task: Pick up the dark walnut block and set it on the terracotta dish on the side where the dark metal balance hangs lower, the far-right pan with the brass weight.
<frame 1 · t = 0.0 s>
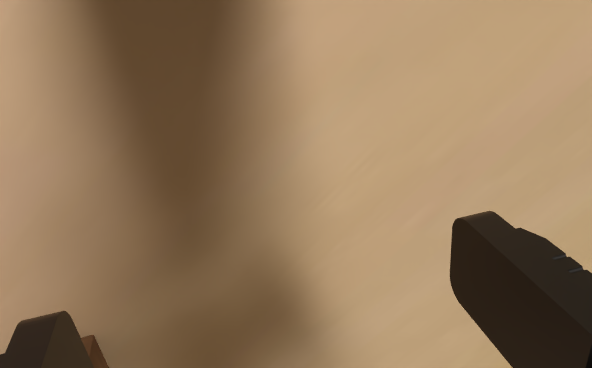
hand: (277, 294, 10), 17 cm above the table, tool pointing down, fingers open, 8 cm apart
walnut block: (69, 366, 31), on the table
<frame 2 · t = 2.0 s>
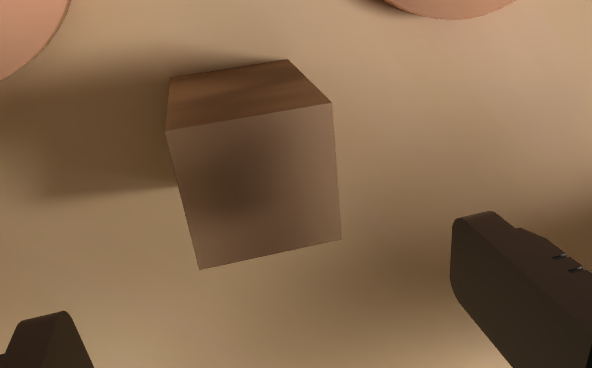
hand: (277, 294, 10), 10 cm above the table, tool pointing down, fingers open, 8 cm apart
walnut block: (239, 124, 18), on the table
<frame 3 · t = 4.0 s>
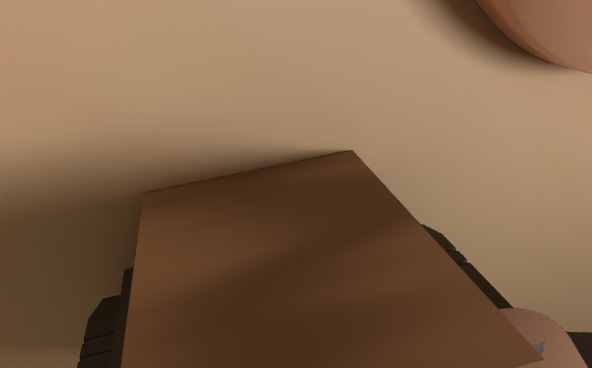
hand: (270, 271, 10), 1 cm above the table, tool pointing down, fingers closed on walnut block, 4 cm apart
walnut block: (266, 256, 11), on the table, touching gripper
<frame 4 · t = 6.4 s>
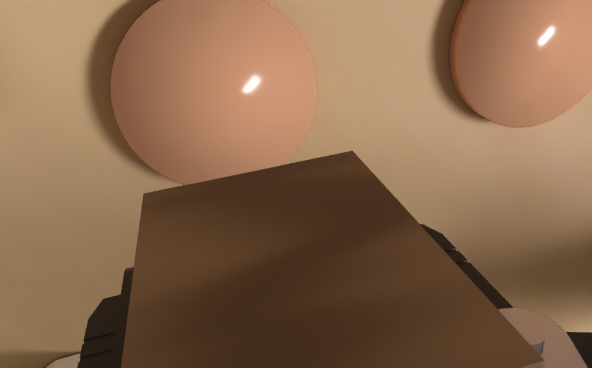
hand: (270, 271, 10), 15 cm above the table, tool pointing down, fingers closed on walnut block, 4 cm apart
walnut block: (266, 256, 11), point 15 cm above the table, touching gripper
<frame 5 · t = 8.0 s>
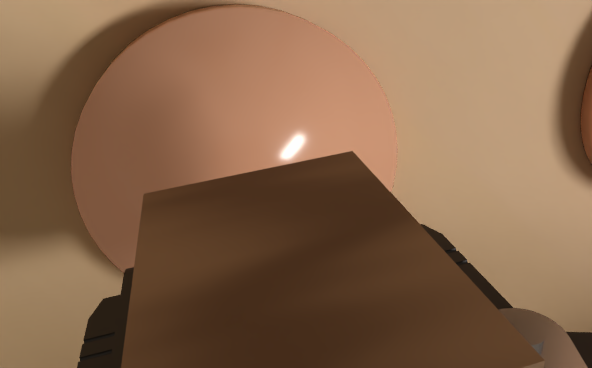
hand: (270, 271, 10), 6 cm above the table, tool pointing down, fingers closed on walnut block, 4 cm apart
walnut block: (266, 257, 11), point 5 cm above the table, touching gripper
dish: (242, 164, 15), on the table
when the fingers open (4 cm above the table, at t = 9.3 s): walnut block drops 2 cm, resting on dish.
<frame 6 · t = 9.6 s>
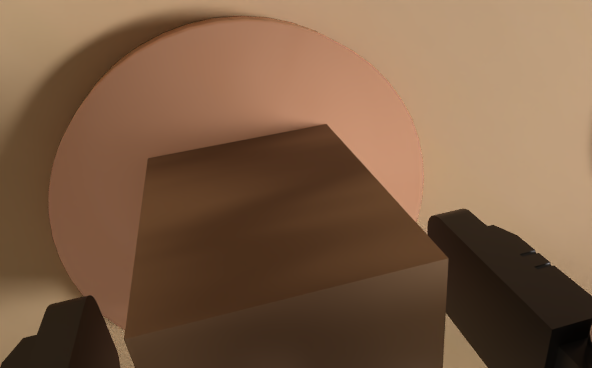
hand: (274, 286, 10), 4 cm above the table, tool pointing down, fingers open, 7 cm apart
walnut block: (253, 217, 12), point 1 cm above the table, touching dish
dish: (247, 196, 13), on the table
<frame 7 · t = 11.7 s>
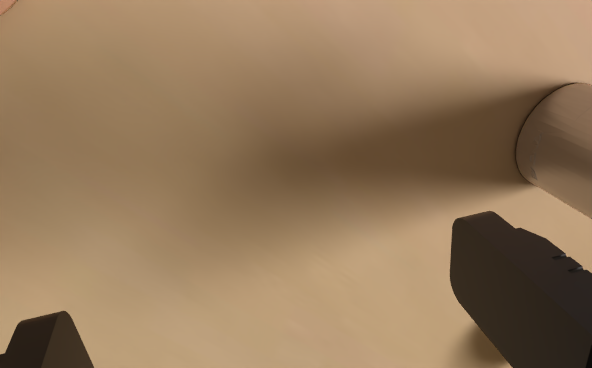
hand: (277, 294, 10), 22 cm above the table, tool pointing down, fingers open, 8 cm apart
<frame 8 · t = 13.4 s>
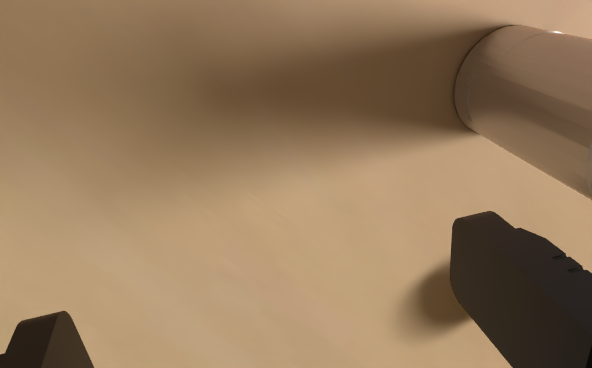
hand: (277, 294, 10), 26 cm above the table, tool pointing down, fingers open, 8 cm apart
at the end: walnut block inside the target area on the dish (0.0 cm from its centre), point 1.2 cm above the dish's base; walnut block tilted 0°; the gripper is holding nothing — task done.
